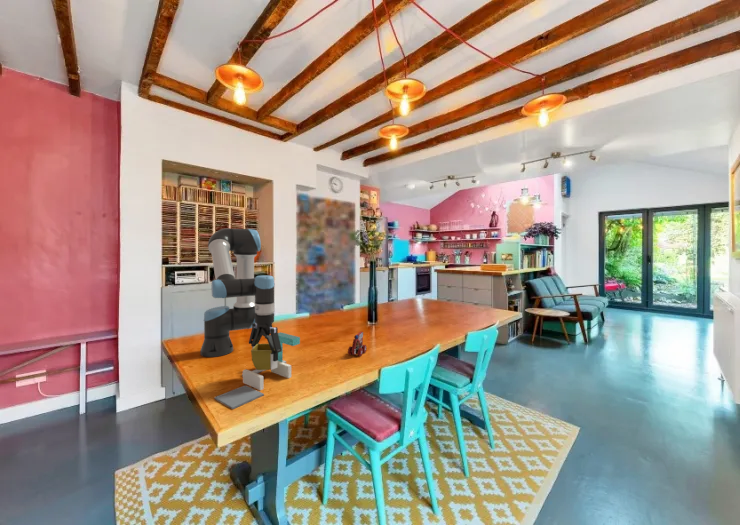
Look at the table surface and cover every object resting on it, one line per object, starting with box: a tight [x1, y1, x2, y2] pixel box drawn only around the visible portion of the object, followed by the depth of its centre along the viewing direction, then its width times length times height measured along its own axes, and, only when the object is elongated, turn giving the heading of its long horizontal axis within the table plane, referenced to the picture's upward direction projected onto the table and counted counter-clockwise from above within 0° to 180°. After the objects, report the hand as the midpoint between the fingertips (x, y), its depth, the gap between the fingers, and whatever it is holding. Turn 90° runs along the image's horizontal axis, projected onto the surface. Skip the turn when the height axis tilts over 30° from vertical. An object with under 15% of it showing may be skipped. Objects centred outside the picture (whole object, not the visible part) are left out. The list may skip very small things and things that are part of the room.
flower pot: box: [250, 343, 272, 371], centre depth 124 cm, size 9×9×9 cm
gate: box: [278, 331, 301, 362], centre depth 137 cm, size 14×4×14 cm, turn 55°
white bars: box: [241, 359, 292, 391], centre depth 129 cm, size 18×24×5 cm
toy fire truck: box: [347, 331, 367, 357], centre depth 156 cm, size 7×12×10 cm, turn 160°
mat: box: [213, 384, 265, 410], centre depth 109 cm, size 12×12×1 cm
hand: (264, 364), depth 125 cm, fingers closed on flower pot, 12 cm apart
